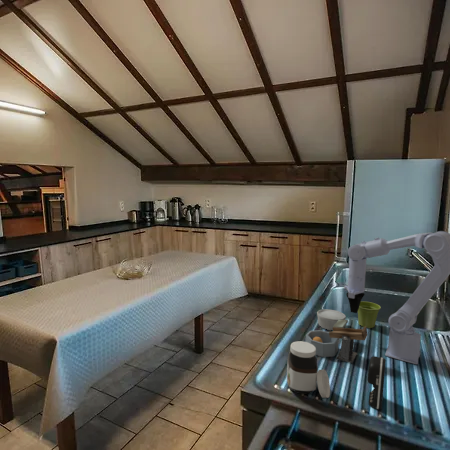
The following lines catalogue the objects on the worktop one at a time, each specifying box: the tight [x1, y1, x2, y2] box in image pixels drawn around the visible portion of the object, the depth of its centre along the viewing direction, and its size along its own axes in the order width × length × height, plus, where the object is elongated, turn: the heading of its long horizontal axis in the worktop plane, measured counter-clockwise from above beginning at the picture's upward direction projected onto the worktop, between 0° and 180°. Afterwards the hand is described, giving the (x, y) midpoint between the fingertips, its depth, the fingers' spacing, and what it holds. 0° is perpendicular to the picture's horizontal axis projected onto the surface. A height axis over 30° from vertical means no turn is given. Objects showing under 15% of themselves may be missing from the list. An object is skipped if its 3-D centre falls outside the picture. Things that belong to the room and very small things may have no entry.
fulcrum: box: [335, 335, 358, 364], centre depth 108 cm, size 5×8×8 cm, turn 146°
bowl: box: [304, 329, 340, 358], centre depth 112 cm, size 10×10×4 cm
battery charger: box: [366, 355, 386, 410], centre depth 85 cm, size 7×4×11 cm, turn 152°
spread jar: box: [286, 340, 331, 399], centre depth 89 cm, size 12×11×12 cm
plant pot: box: [357, 300, 382, 329], centre depth 134 cm, size 9×9×9 cm
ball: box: [313, 337, 323, 343], centre depth 113 cm, size 4×4×4 cm
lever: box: [328, 319, 368, 341], centre depth 112 cm, size 12×16×3 cm
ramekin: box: [316, 308, 347, 331], centre depth 132 cm, size 11×11×5 cm
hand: (354, 312), depth 120 cm, fingers closed
